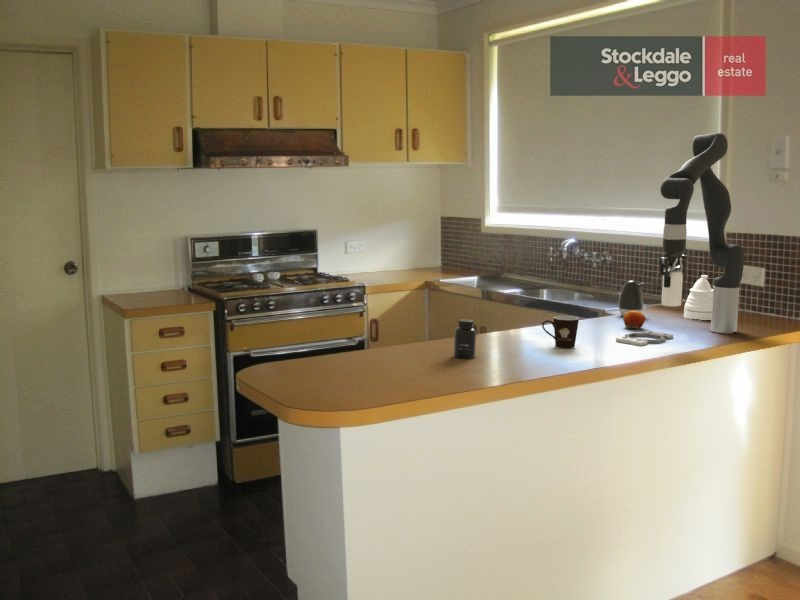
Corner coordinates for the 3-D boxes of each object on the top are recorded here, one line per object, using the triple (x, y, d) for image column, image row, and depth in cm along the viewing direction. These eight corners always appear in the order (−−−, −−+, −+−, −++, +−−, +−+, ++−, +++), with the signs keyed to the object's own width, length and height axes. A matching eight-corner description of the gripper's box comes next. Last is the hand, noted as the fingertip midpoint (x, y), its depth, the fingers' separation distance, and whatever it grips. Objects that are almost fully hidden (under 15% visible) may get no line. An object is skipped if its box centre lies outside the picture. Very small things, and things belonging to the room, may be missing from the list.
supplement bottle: (461, 360, 267) (461, 322, 266) (450, 355, 273) (450, 319, 272) (479, 357, 270) (480, 321, 269) (468, 353, 276) (468, 317, 275)
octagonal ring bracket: (644, 333, 314) (645, 329, 314) (676, 338, 305) (677, 334, 305) (612, 340, 300) (612, 336, 300) (644, 346, 290) (645, 342, 290)
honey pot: (721, 320, 343) (724, 276, 340) (689, 320, 343) (692, 276, 340) (710, 315, 355) (712, 273, 353) (679, 315, 356) (682, 272, 353)
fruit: (621, 326, 320) (623, 306, 323) (623, 333, 327) (625, 314, 330) (643, 327, 317) (645, 308, 320) (644, 335, 324) (646, 316, 327)
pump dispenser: (641, 319, 345) (643, 282, 343) (615, 317, 349) (617, 280, 347) (645, 315, 354) (647, 279, 352) (620, 313, 358) (621, 278, 356)
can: (682, 307, 286) (684, 272, 284) (662, 306, 287) (664, 271, 286) (679, 304, 292) (681, 270, 291) (660, 303, 294) (662, 269, 292)
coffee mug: (582, 346, 289) (583, 317, 288) (569, 350, 283) (570, 321, 282) (553, 341, 297) (554, 313, 296) (540, 345, 291) (540, 316, 290)
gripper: (675, 235, 294) (672, 283, 297) (653, 238, 284) (651, 287, 287) (695, 237, 289) (692, 285, 291) (673, 239, 279) (671, 289, 282)
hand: (672, 286), depth 289 cm, fingers closed on can, 6 cm apart
